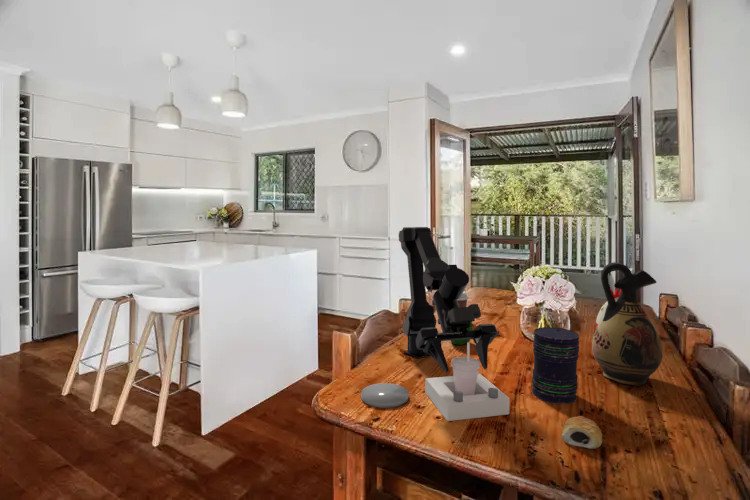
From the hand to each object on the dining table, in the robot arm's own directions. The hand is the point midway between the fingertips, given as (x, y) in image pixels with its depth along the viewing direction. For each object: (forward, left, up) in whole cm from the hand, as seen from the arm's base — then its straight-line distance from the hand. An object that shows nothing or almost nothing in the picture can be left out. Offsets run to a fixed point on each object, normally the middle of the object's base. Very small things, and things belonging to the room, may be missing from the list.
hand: (466, 370), depth 92 cm
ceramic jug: (+18, +42, -8) cm, 47 cm away
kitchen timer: (+1, +92, -8) cm, 93 cm away
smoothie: (-1, 0, -8) cm, 8 cm away
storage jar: (+11, +19, -8) cm, 24 cm away
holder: (-1, 0, -8) cm, 8 cm away
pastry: (+23, +5, -8) cm, 25 cm away
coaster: (-15, -11, -8) cm, 20 cm away
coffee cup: (-45, +56, -8) cm, 73 cm away
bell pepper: (-28, +35, -8) cm, 46 cm away
